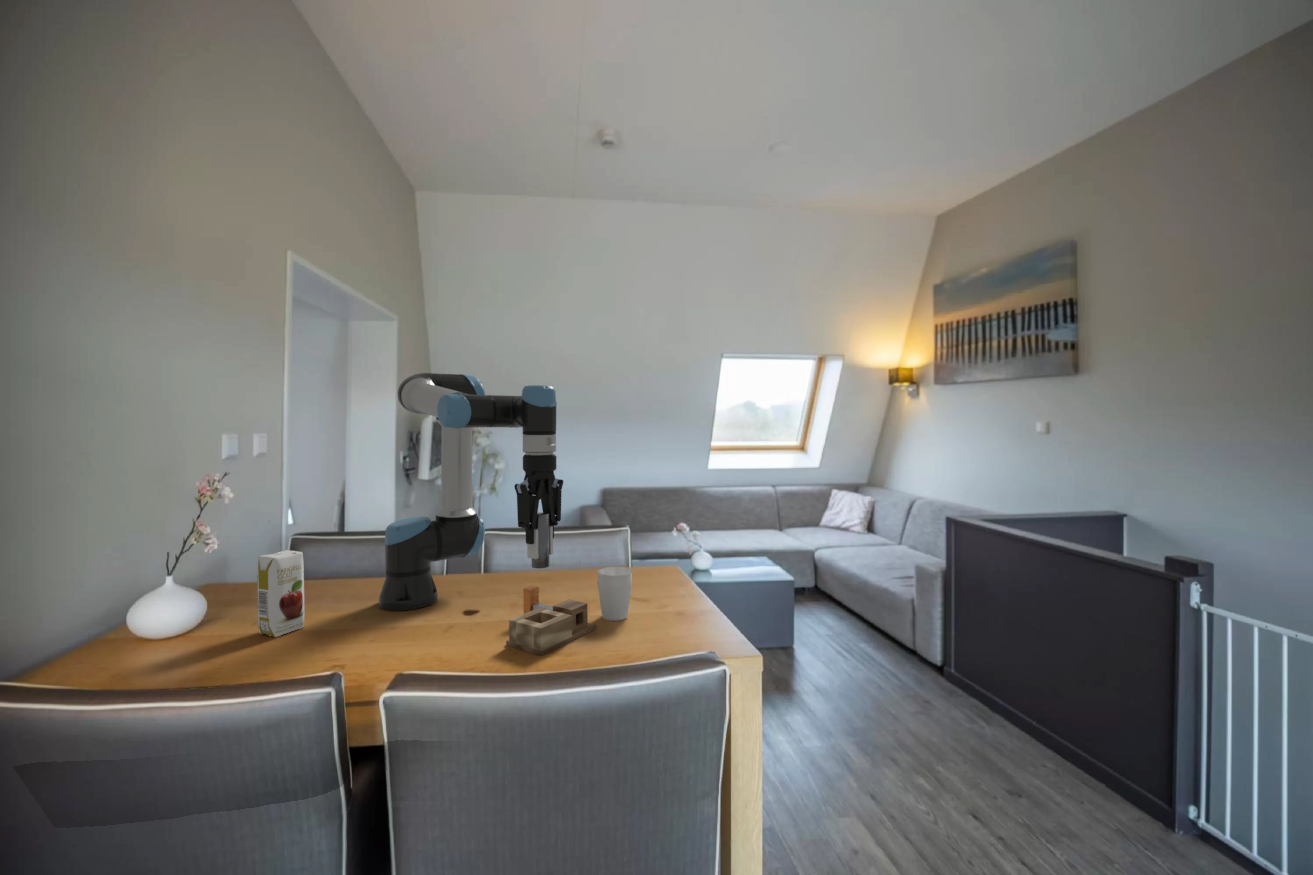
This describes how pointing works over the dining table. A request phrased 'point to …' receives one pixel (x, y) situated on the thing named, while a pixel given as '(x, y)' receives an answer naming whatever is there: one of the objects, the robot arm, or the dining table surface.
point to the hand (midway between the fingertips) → (540, 555)
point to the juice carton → (280, 592)
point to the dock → (576, 624)
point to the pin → (533, 600)
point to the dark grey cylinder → (542, 541)
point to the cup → (614, 592)
